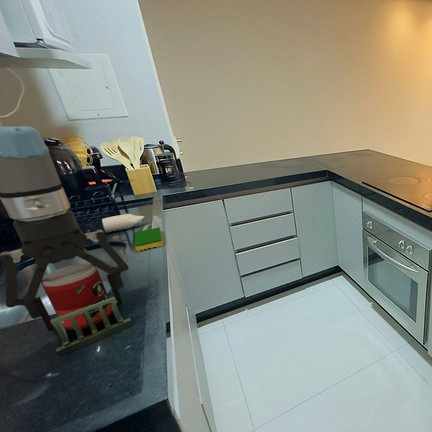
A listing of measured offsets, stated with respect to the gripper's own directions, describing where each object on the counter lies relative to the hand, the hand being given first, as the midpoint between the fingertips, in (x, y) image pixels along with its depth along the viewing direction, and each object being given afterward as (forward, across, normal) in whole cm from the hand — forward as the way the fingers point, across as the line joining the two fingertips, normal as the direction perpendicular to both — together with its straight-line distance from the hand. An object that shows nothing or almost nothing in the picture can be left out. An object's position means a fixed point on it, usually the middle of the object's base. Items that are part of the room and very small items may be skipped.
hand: (87, 314), depth 62 cm
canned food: (+1, 0, 0) cm, 1 cm away
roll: (+3, +18, +63) cm, 65 cm away
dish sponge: (+3, +20, +41) cm, 46 cm away
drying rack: (+3, 0, -1) cm, 3 cm away
